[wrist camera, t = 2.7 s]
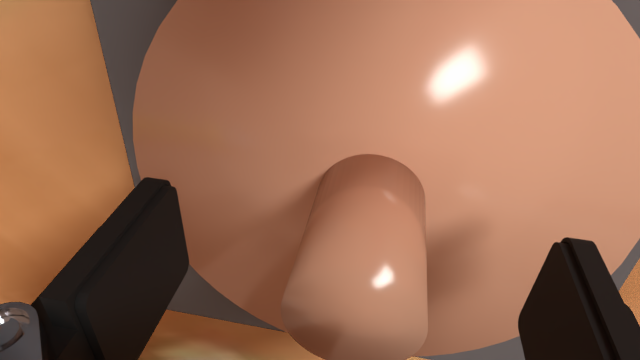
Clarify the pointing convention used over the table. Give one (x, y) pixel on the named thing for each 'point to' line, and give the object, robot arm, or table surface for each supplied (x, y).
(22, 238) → the table surface
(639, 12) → the mat
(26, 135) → the table surface
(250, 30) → the lid
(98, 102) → the table surface
